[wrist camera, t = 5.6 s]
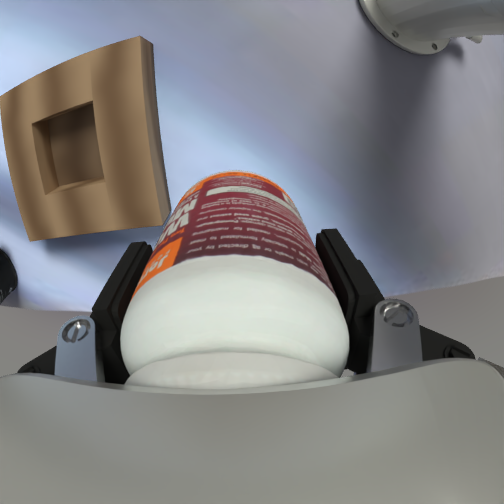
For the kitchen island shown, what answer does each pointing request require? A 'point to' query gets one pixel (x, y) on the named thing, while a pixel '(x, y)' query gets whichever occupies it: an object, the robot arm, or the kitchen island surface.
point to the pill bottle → (234, 295)
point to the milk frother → (6, 276)
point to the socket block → (88, 144)
